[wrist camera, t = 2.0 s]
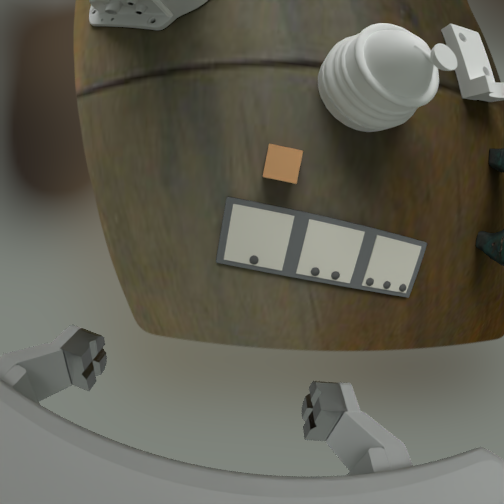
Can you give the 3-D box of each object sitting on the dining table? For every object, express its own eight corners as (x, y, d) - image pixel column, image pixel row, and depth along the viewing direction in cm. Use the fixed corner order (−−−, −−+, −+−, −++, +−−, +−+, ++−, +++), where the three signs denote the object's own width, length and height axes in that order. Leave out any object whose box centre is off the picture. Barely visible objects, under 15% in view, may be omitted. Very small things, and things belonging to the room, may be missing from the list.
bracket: (487, 102, 30) (514, 98, 22) (461, 98, 30) (489, 91, 23) (467, 37, 26) (491, 26, 19) (440, 30, 27) (463, 15, 19)
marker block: (262, 176, 36) (262, 176, 32) (268, 146, 35) (269, 143, 31) (292, 182, 36) (296, 183, 32) (298, 152, 35) (303, 150, 31)
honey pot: (413, 80, 30) (489, 46, 13) (384, 149, 34) (465, 144, 17) (337, 34, 29) (379, -35, 12) (302, 102, 33) (334, 50, 15)
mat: (216, 260, 39) (215, 263, 38) (227, 196, 37) (226, 197, 36) (406, 295, 40) (409, 298, 39) (424, 241, 37) (428, 243, 36)
